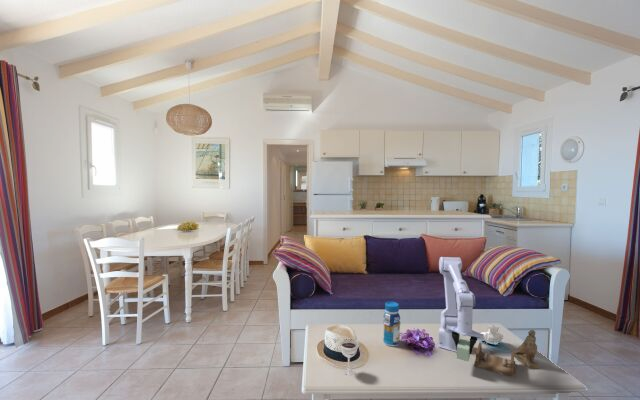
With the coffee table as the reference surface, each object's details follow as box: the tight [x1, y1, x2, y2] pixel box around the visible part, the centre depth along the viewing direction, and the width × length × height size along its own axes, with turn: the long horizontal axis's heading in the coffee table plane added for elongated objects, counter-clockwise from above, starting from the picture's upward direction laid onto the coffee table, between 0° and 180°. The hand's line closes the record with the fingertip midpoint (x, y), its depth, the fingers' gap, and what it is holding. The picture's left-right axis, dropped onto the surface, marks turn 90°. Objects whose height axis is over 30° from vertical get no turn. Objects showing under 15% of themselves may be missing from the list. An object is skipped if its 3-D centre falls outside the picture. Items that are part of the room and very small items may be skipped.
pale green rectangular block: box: [456, 336, 471, 362], centre depth 131 cm, size 10×4×5 cm, turn 148°
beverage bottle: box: [382, 301, 401, 347], centre depth 153 cm, size 8×8×20 cm
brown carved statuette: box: [513, 329, 539, 370], centre depth 136 cm, size 12×6×18 cm, turn 176°
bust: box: [480, 324, 504, 343], centre depth 152 cm, size 12×8×11 cm
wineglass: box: [340, 339, 358, 376], centre depth 128 cm, size 7×7×12 cm
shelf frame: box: [473, 341, 516, 378], centre depth 134 cm, size 15×12×6 cm
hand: (464, 351), depth 131 cm, fingers closed on pale green rectangular block, 5 cm apart
